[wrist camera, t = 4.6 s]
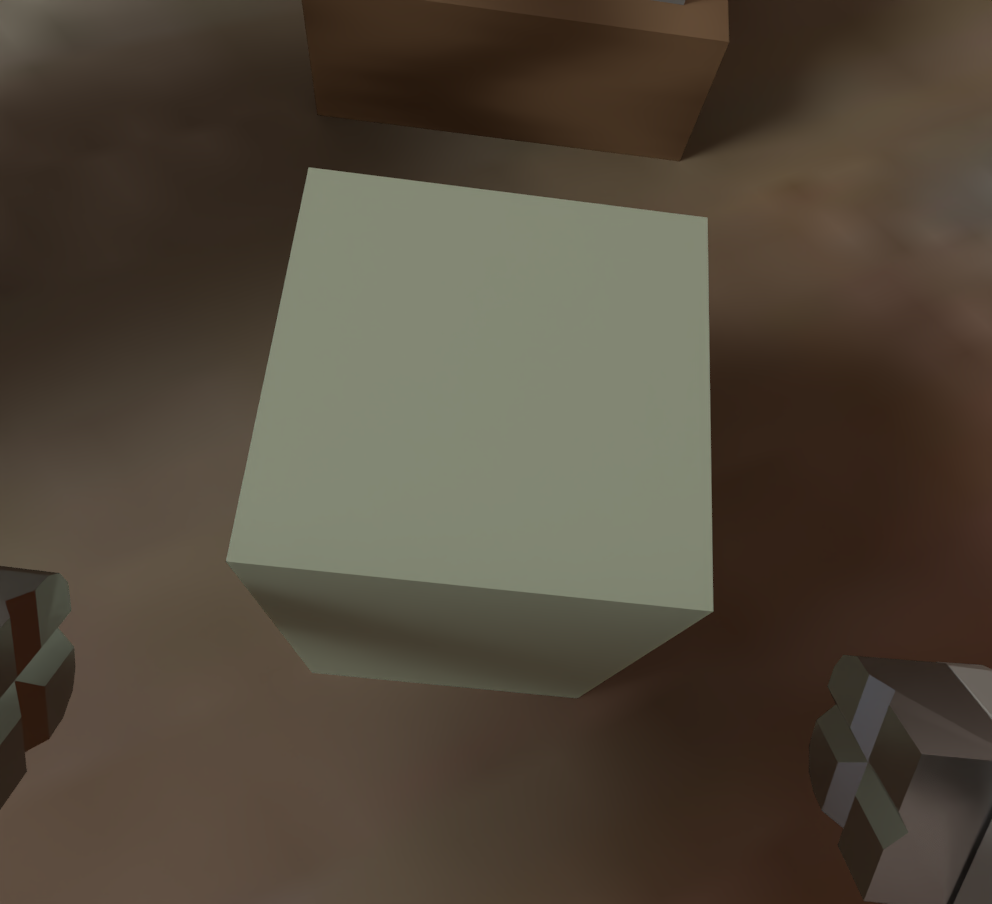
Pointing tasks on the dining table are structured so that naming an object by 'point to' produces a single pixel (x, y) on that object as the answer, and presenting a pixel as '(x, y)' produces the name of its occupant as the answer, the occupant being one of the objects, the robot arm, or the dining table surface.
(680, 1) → the tower top
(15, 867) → the dining table surface
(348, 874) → the dining table surface
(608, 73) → the tower base
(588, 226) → the sage block
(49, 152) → the dining table surface
